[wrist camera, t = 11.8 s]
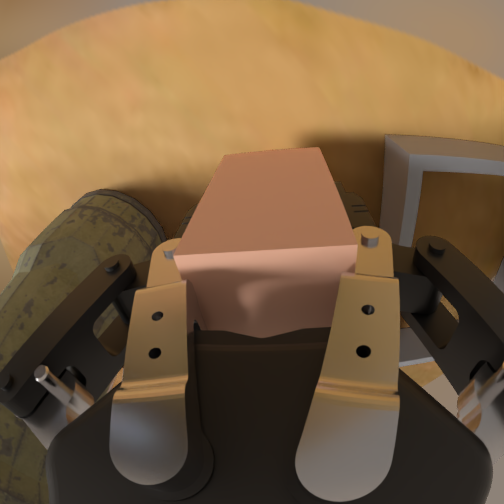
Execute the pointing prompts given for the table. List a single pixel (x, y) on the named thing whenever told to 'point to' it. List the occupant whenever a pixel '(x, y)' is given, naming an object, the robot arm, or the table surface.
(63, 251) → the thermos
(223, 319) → the terracotta block
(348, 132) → the table surface
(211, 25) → the table surface
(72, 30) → the table surface
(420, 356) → the desk tray
